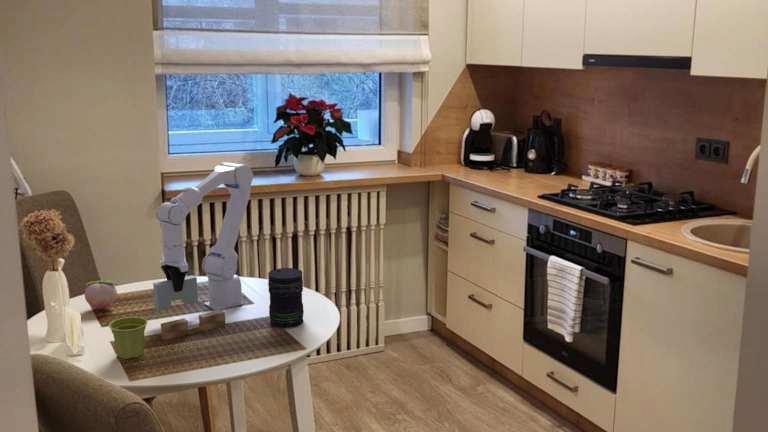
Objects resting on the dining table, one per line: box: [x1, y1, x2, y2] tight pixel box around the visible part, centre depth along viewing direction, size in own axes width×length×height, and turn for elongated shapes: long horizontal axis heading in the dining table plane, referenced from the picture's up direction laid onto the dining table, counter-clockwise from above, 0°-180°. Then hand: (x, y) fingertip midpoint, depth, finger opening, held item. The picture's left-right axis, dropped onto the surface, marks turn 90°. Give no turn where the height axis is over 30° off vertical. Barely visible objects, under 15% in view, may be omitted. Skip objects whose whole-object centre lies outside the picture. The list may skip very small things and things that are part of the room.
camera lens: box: [267, 267, 305, 329], centre depth 221 cm, size 10×10×15 cm
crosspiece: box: [152, 275, 199, 312], centre depth 222 cm, size 12×3×8 cm, turn 129°
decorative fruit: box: [83, 277, 118, 310], centre depth 232 cm, size 9×8×10 cm
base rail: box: [160, 309, 226, 341], centre depth 215 cm, size 18×3×4 cm, turn 129°
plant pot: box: [108, 316, 148, 360], centre depth 198 cm, size 9×9×9 cm
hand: (176, 289), depth 222 cm, fingers closed on crosspiece, 3 cm apart
